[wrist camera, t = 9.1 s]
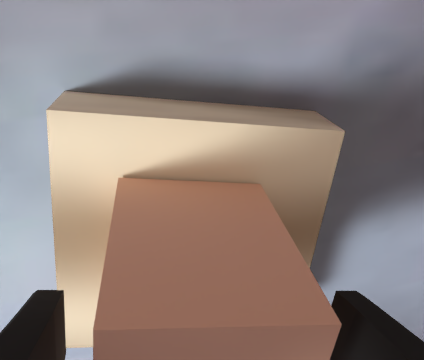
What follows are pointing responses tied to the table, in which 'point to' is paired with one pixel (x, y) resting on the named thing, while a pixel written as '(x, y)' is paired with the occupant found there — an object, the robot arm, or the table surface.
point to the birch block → (173, 172)
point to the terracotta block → (206, 278)
